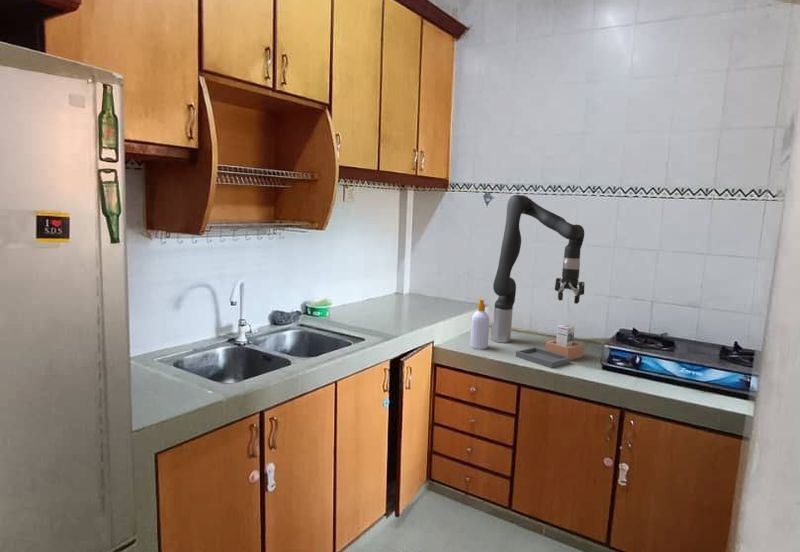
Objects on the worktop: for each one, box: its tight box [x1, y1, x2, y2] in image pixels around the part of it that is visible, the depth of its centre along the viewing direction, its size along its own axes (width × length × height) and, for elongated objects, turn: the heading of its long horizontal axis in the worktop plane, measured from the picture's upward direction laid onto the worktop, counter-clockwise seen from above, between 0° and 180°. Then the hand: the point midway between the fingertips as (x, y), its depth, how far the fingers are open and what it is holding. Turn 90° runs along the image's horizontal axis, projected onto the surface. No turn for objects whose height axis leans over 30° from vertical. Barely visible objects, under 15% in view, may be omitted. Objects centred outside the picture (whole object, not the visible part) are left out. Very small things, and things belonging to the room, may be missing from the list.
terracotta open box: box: [544, 339, 585, 361], centre depth 248 cm, size 12×12×6 cm
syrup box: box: [556, 324, 575, 347], centre depth 247 cm, size 6×6×14 cm
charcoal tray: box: [515, 346, 572, 369], centre depth 240 cm, size 20×14×3 cm
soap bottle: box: [469, 297, 490, 350], centre depth 257 cm, size 9×9×24 cm
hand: (568, 301), depth 245 cm, fingers open, 8 cm apart
